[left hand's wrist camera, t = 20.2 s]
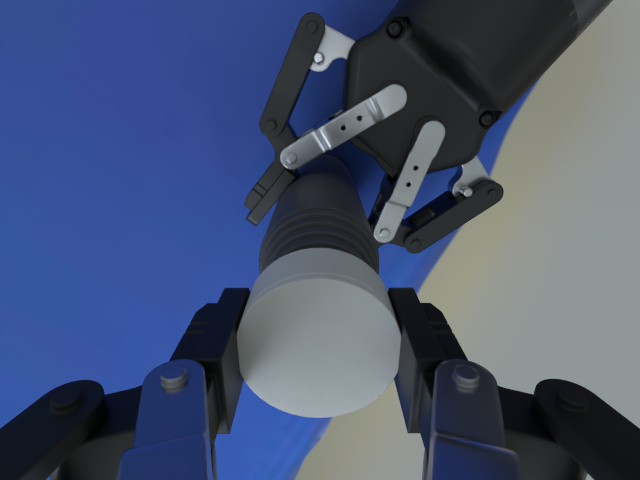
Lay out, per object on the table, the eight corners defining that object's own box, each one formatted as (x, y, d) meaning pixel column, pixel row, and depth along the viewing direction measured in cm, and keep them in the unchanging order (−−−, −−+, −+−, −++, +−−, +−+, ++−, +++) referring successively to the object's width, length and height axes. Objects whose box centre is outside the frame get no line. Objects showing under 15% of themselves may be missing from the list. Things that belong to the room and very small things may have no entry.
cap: (327, 390, 14) (329, 442, 12) (220, 320, 12) (201, 363, 10) (419, 303, 12) (438, 344, 10) (307, 217, 11) (305, 244, 9)
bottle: (327, 138, 27) (340, 226, 10) (366, 194, 28) (436, 355, 11) (271, 179, 28) (196, 323, 11) (312, 231, 29) (301, 429, 12)
